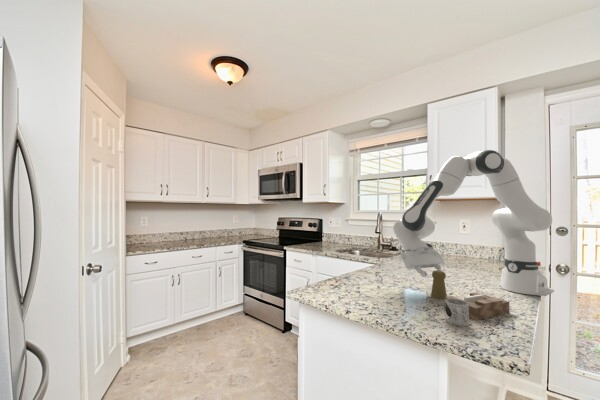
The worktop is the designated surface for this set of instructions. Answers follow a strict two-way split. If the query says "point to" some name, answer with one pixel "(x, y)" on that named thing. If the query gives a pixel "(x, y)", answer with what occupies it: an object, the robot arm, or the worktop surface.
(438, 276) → the cork
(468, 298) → the latch tongue
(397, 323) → the worktop surface
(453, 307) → the mug
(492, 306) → the walnut dock
